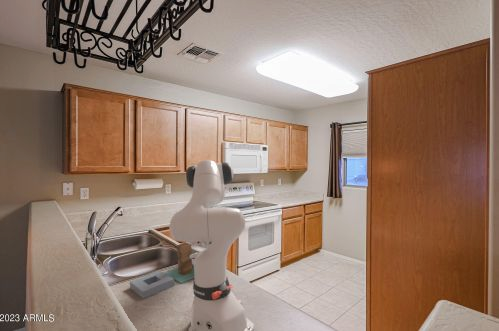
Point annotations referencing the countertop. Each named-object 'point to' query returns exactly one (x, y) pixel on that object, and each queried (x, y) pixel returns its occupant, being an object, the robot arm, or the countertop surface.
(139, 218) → the countertop surface
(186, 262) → the walnut peg
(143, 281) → the socket block
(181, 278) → the teal mat
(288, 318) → the countertop surface
